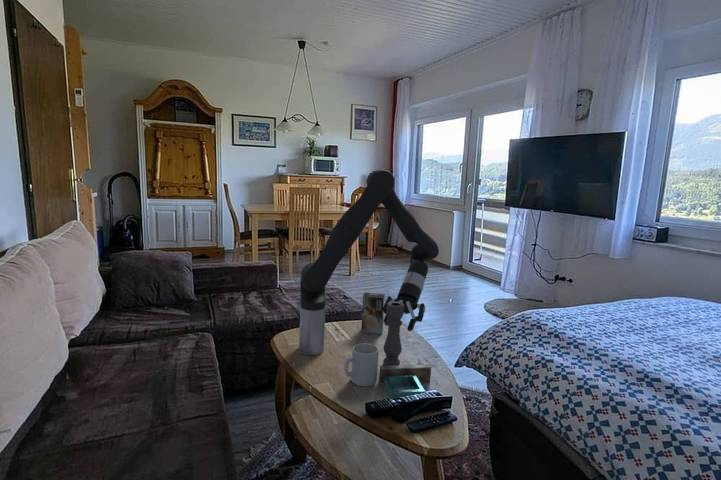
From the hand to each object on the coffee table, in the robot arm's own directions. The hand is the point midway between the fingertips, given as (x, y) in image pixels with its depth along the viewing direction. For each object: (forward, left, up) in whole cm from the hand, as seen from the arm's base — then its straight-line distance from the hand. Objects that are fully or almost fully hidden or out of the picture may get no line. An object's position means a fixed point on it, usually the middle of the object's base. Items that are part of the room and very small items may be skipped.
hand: (397, 327), depth 138 cm
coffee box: (-1, +36, -16) cm, 39 cm away
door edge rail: (+2, -7, -16) cm, 18 cm away
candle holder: (-2, -2, -16) cm, 16 cm away
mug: (-13, -6, -16) cm, 22 cm away
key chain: (+8, +1, -17) cm, 18 cm away
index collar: (-1, -14, -16) cm, 21 cm away
